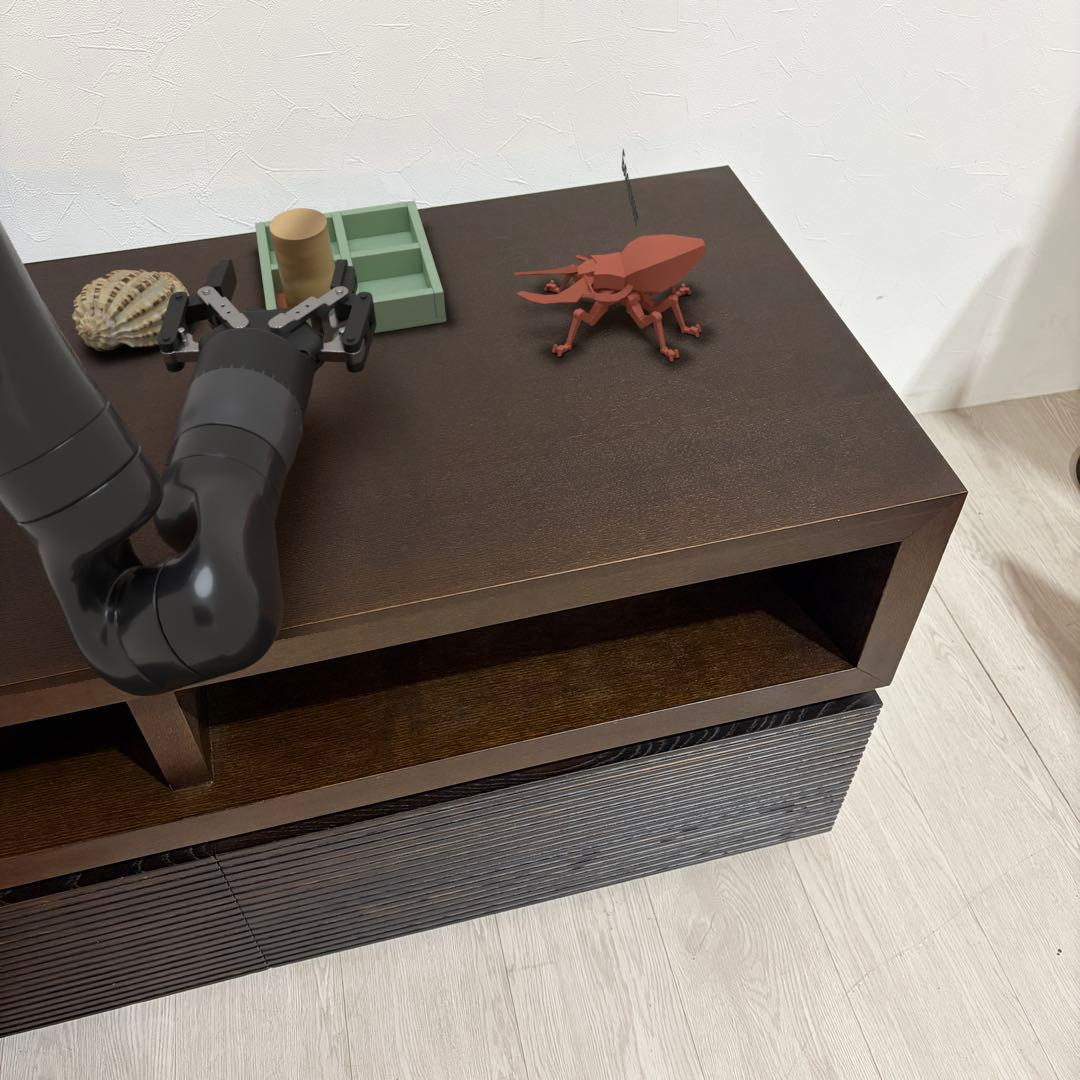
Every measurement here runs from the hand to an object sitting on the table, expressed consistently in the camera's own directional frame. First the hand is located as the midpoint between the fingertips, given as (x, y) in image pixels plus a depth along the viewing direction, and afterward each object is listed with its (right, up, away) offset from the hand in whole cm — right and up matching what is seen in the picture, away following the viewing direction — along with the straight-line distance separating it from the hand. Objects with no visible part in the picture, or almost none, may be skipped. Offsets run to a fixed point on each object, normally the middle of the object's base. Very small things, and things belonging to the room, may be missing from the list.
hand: (286, 269), depth 81 cm
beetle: (+24, -2, +9) cm, 26 cm away
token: (0, -1, +9) cm, 9 cm away
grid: (+3, +2, +13) cm, 13 cm away
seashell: (-14, -3, +9) cm, 17 cm away
